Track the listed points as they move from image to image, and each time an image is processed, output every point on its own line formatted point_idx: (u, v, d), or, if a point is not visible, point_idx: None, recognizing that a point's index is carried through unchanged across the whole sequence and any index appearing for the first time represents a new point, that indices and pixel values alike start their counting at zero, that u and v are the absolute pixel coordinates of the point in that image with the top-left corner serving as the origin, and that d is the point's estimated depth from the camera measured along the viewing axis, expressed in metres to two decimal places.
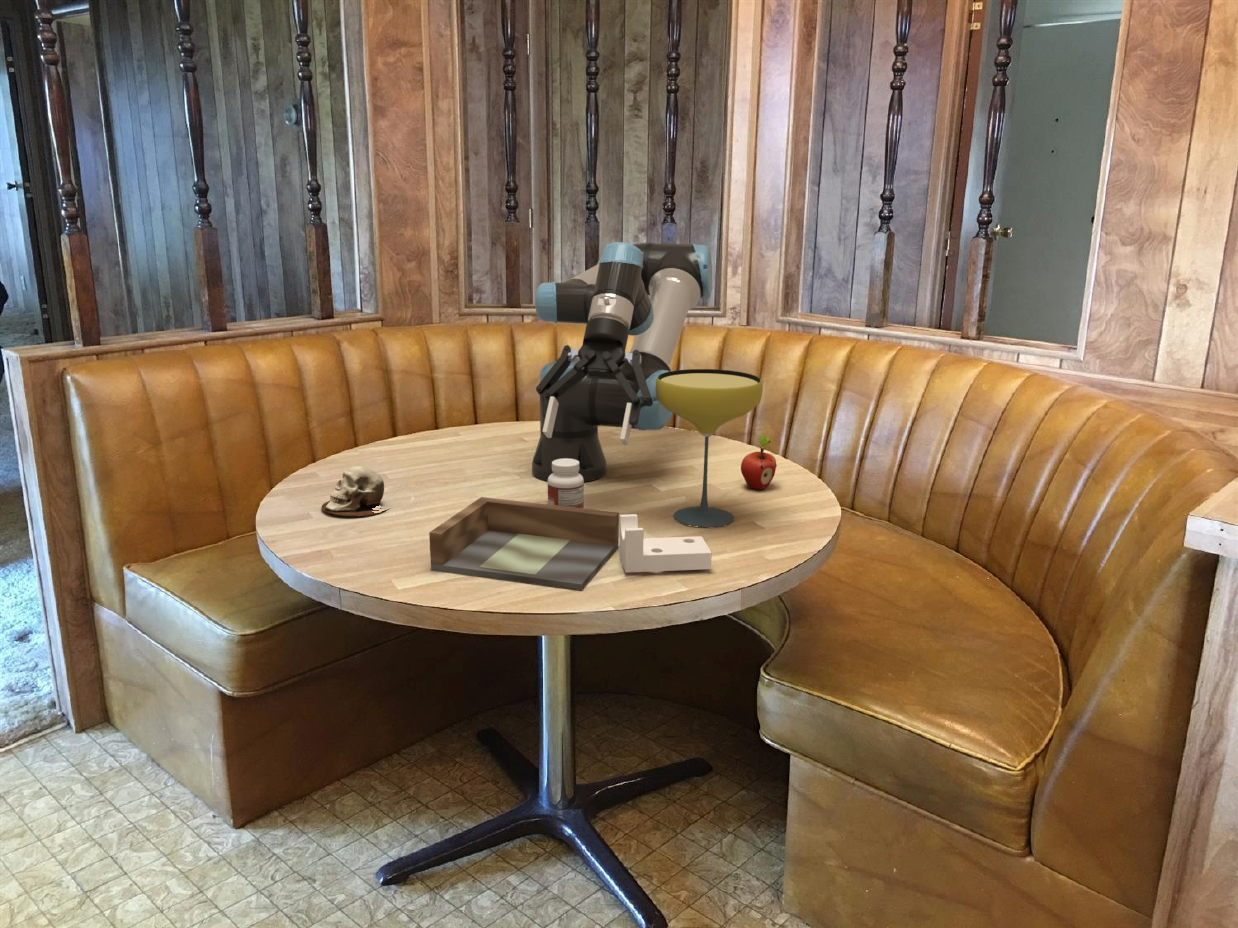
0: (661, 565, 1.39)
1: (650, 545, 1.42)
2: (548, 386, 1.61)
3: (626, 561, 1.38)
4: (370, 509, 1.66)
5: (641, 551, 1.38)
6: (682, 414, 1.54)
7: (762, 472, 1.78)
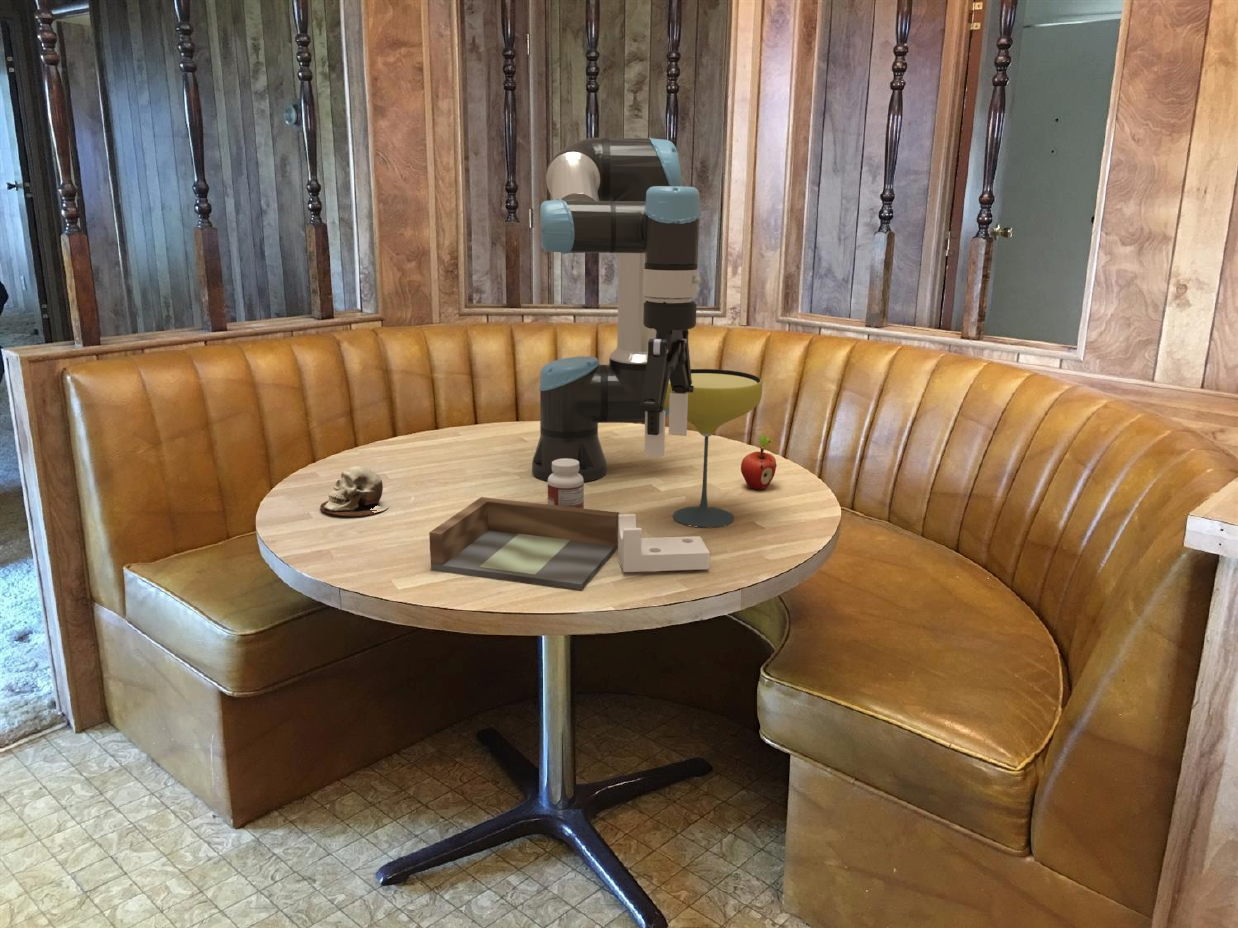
0: (659, 565, 1.39)
1: (648, 544, 1.42)
2: None
3: (624, 561, 1.38)
4: (369, 509, 1.66)
5: (639, 551, 1.38)
6: None
7: (762, 472, 1.78)
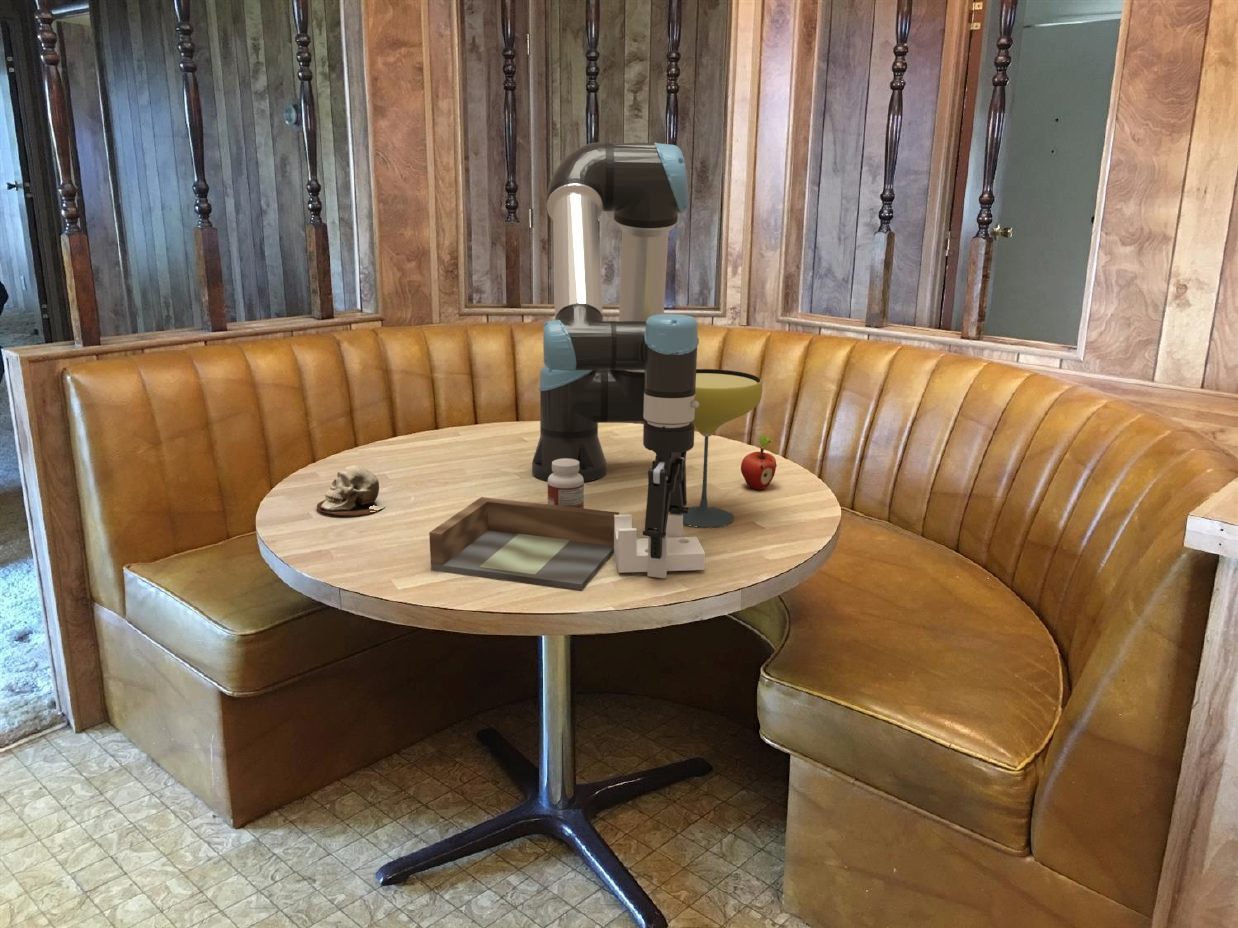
0: None
1: (644, 545, 1.42)
2: None
3: (619, 561, 1.38)
4: (365, 508, 1.66)
5: (634, 551, 1.38)
6: None
7: (762, 472, 1.78)
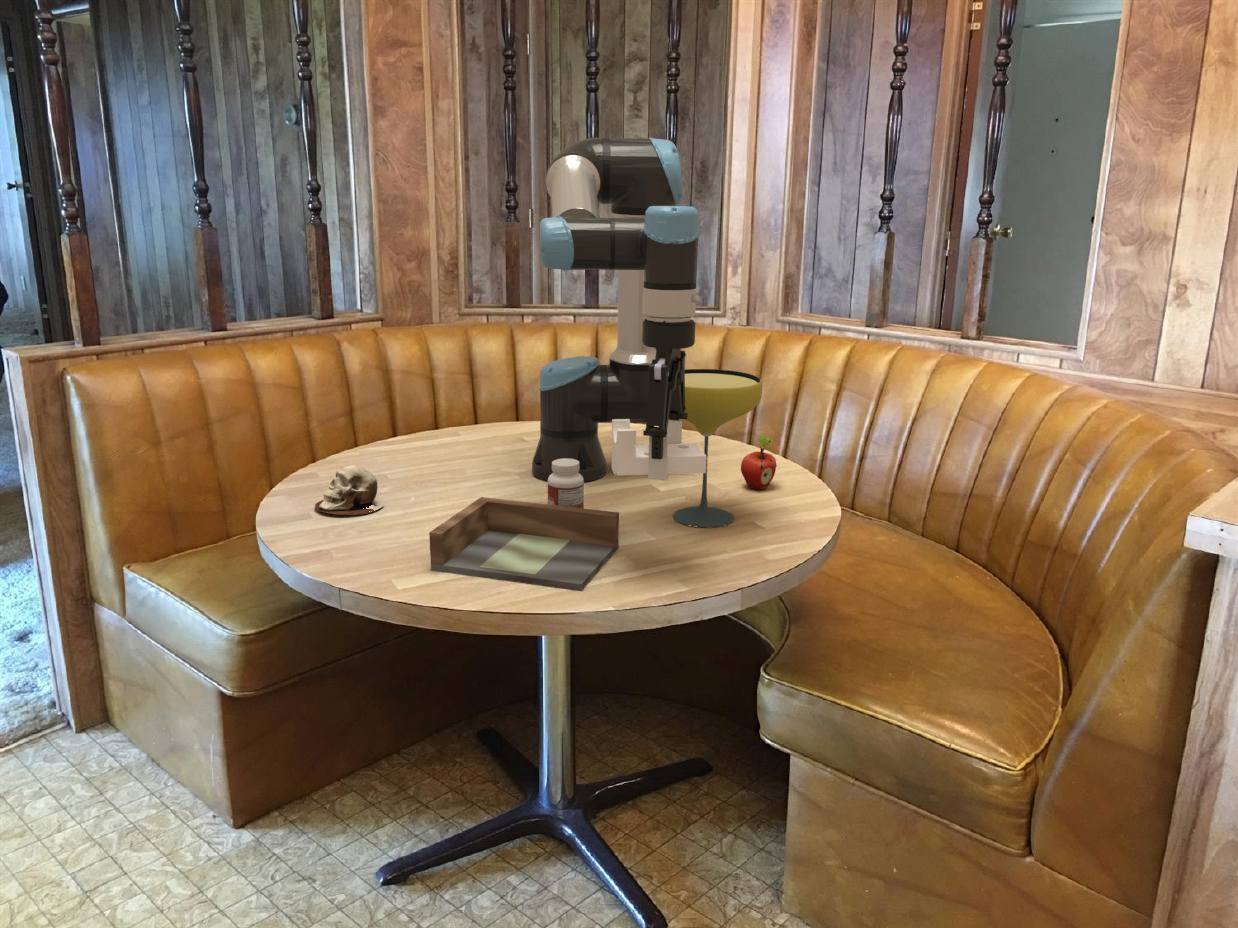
0: None
1: (643, 449, 1.38)
2: None
3: (618, 463, 1.34)
4: (364, 508, 1.66)
5: (633, 453, 1.33)
6: None
7: (762, 472, 1.78)
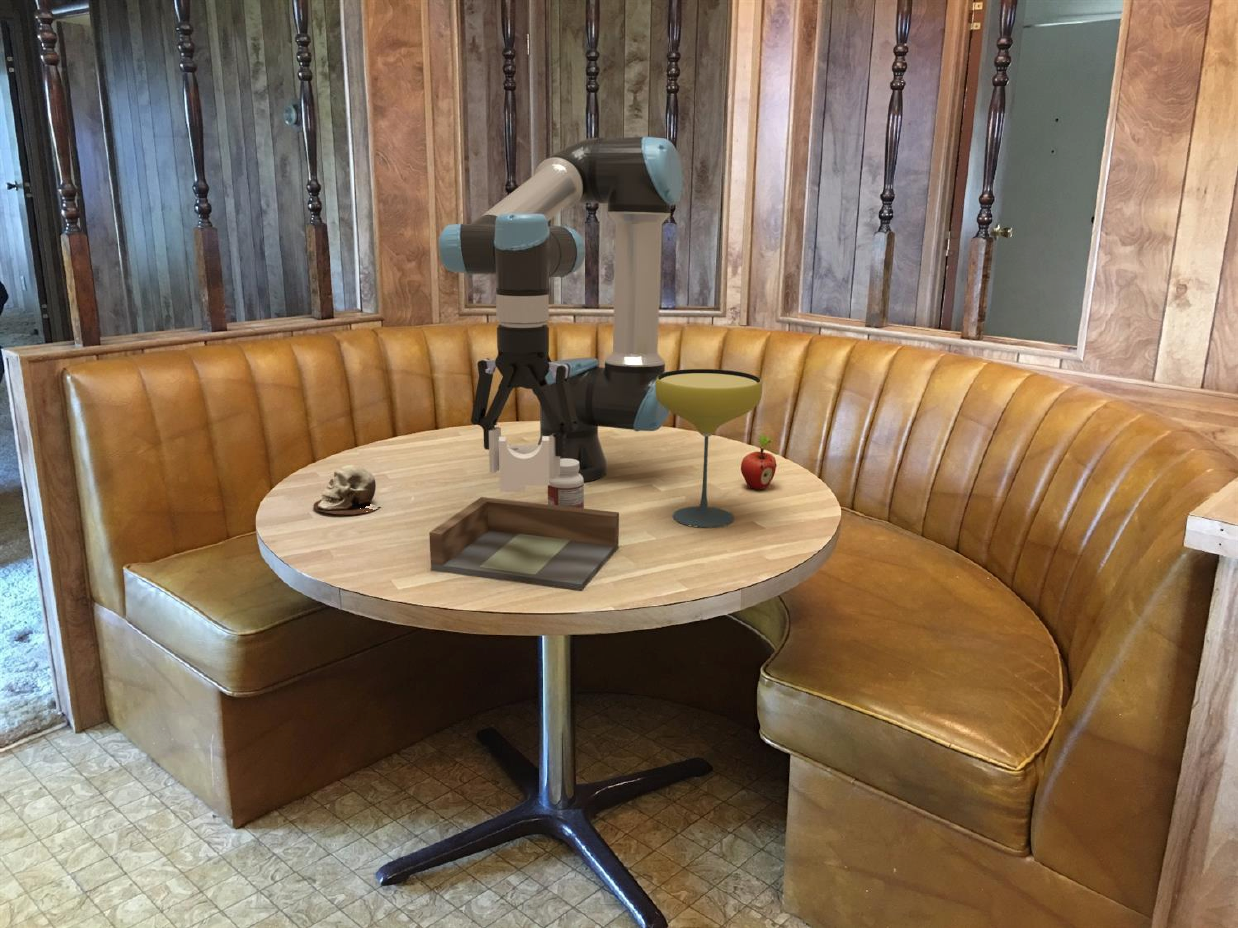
0: None
1: None
2: None
3: (548, 473, 1.33)
4: (362, 507, 1.67)
5: None
6: (682, 414, 1.54)
7: (762, 472, 1.78)
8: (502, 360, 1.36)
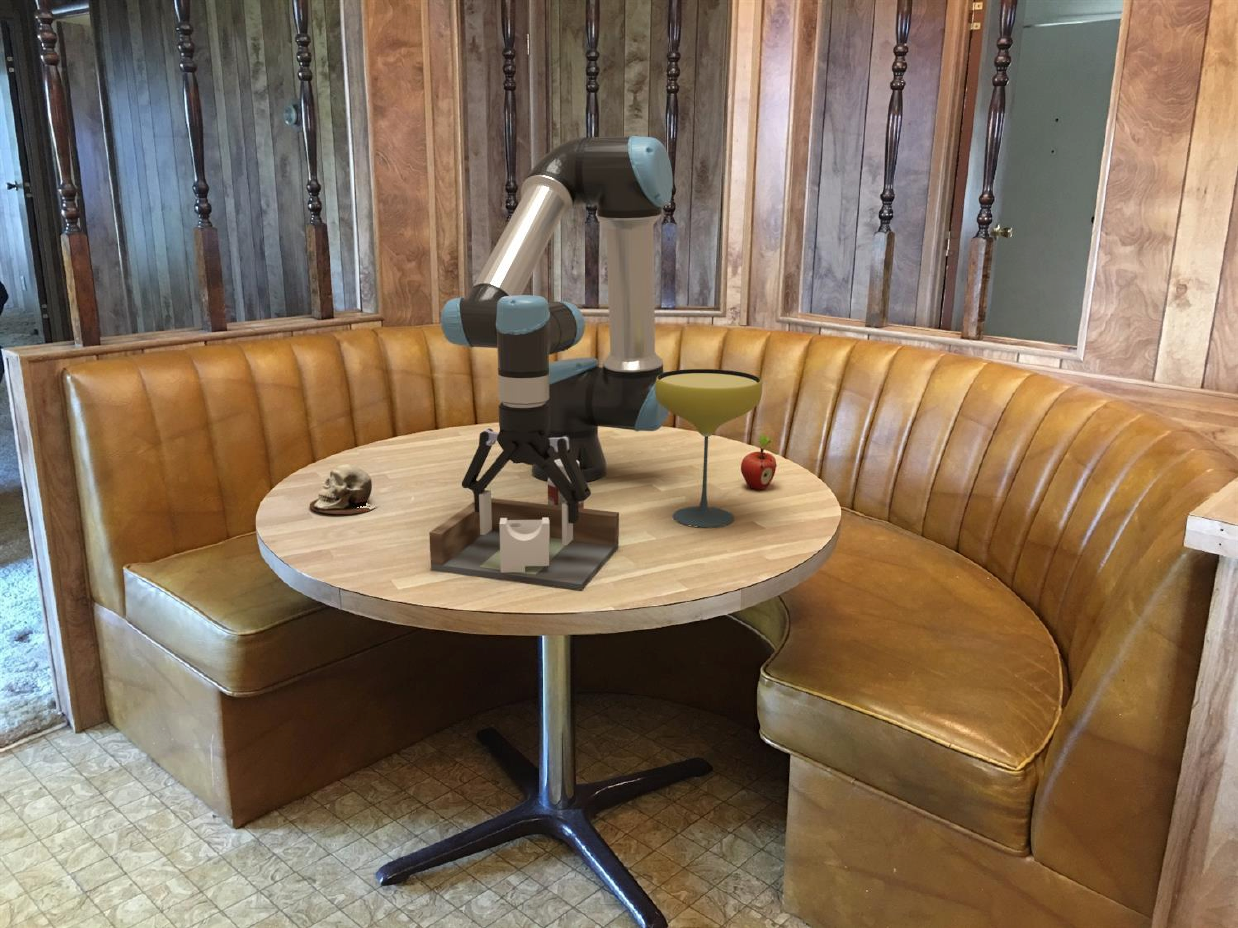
0: None
1: None
2: None
3: (548, 554, 1.36)
4: (359, 507, 1.67)
5: None
6: (682, 414, 1.54)
7: (762, 472, 1.78)
8: (504, 437, 1.39)
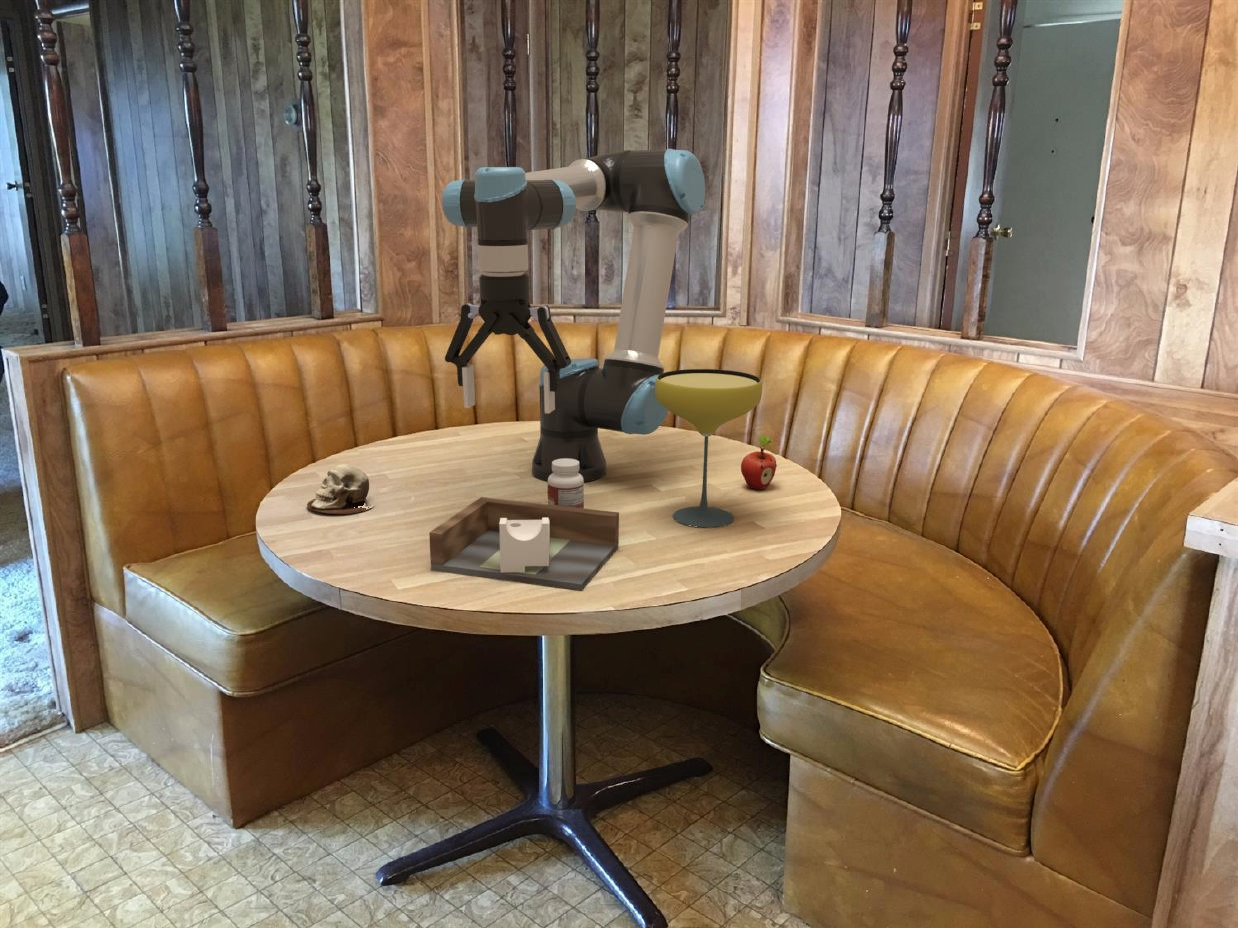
0: None
1: None
2: None
3: (548, 554, 1.36)
4: (356, 507, 1.67)
5: None
6: (682, 414, 1.54)
7: (762, 472, 1.78)
8: (485, 309, 1.43)
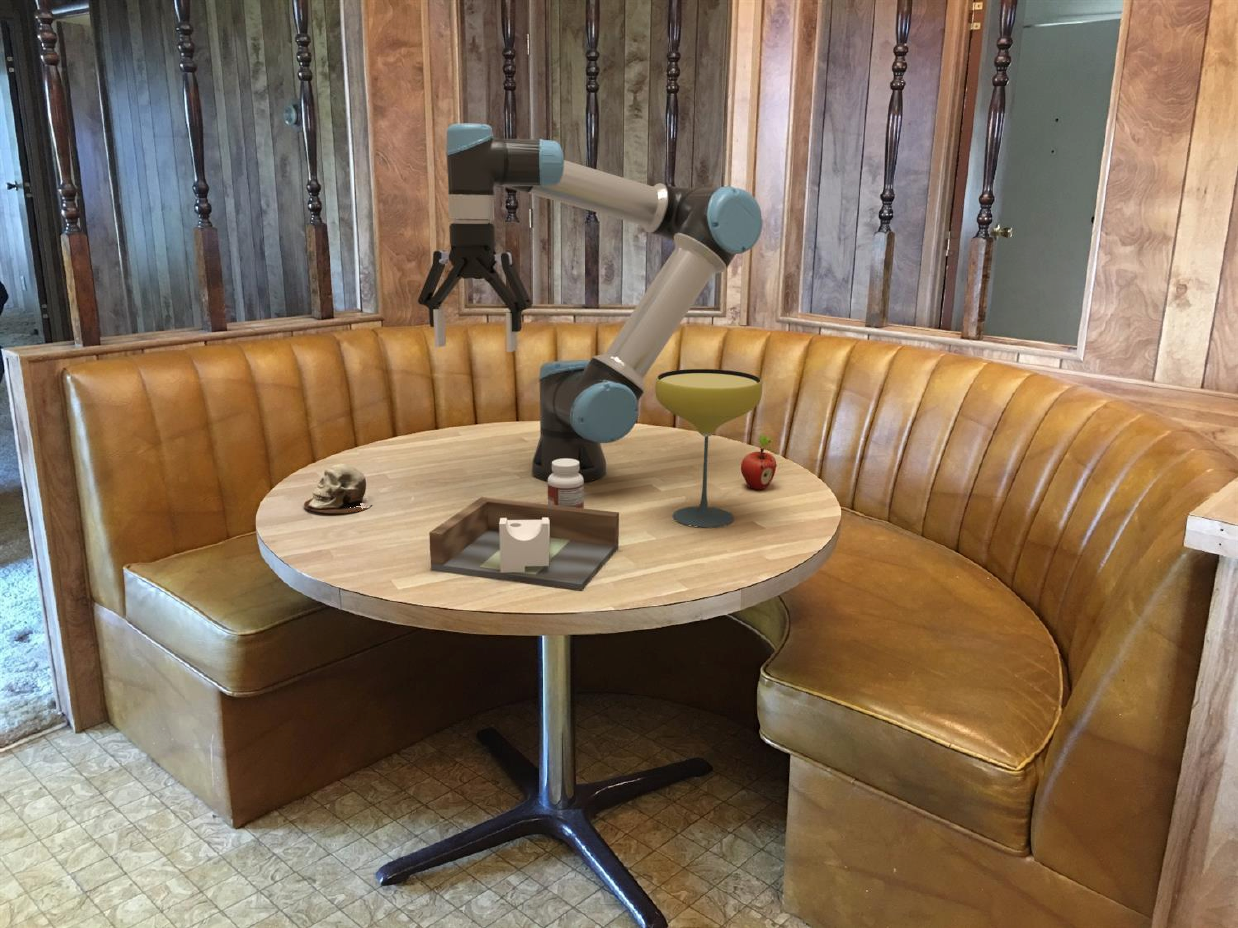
0: None
1: None
2: None
3: (548, 554, 1.36)
4: (353, 506, 1.67)
5: None
6: (682, 414, 1.54)
7: (762, 472, 1.78)
8: (455, 255, 1.57)
